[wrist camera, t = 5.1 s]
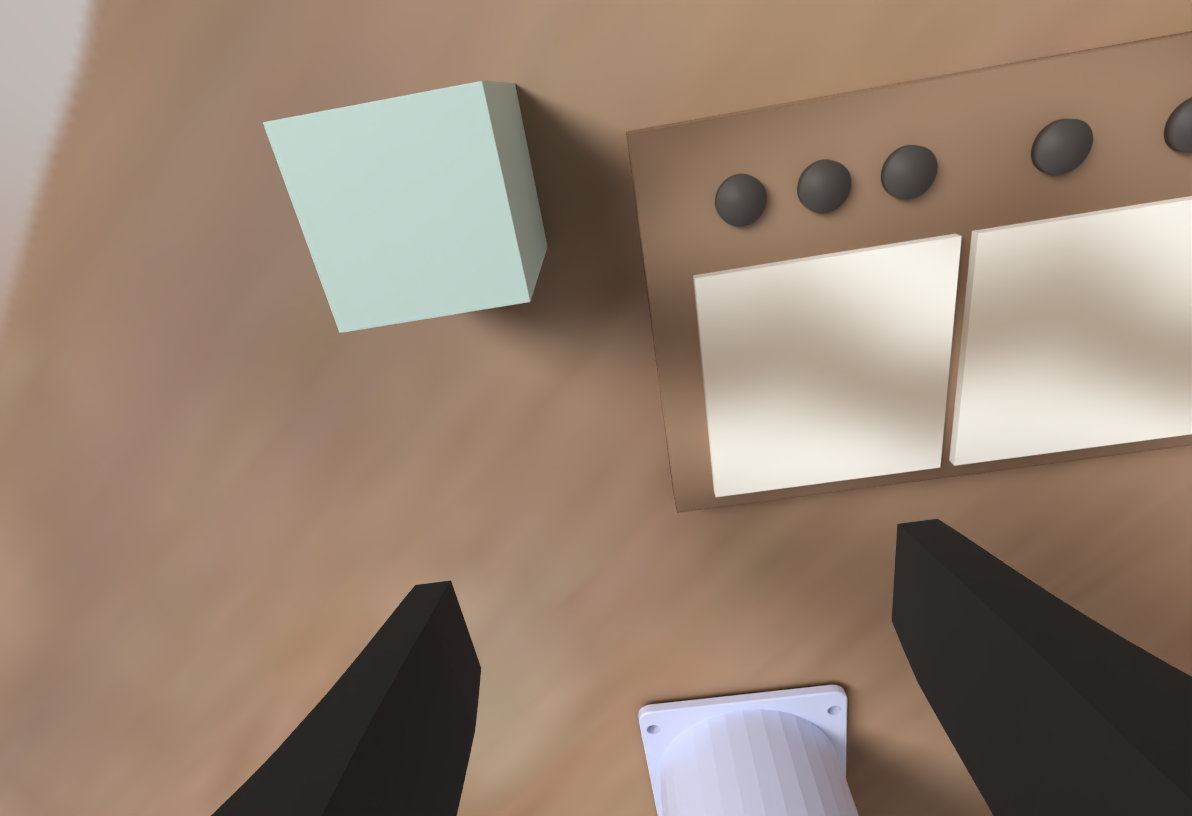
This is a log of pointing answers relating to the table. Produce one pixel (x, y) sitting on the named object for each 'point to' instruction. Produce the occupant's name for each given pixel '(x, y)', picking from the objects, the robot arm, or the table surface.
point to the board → (924, 276)
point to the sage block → (416, 203)
